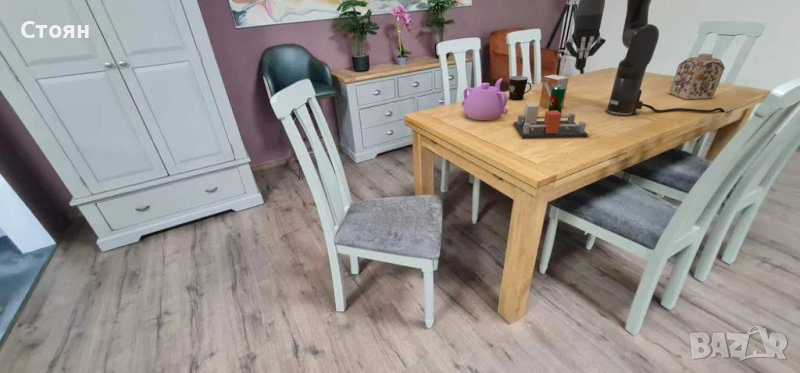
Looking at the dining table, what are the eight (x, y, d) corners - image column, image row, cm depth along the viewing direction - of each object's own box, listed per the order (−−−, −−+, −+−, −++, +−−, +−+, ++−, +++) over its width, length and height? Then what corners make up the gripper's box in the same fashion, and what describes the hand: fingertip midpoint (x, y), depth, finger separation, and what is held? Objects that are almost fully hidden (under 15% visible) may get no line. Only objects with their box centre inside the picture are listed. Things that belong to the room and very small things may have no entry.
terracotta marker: (553, 129, 122) (557, 110, 118) (557, 133, 118) (561, 114, 114) (542, 129, 122) (545, 110, 119) (546, 133, 118) (549, 114, 115)
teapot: (521, 112, 145) (525, 79, 138) (496, 126, 132) (499, 91, 125) (477, 104, 158) (479, 74, 152) (450, 116, 145) (451, 84, 138)
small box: (539, 105, 152) (543, 76, 146) (549, 103, 154) (554, 74, 148) (552, 110, 146) (557, 79, 139) (563, 107, 148) (569, 77, 141)
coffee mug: (504, 97, 167) (506, 76, 162) (521, 95, 167) (523, 75, 163) (513, 103, 157) (515, 81, 152) (530, 102, 157) (533, 80, 152)
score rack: (571, 123, 130) (573, 111, 128) (587, 137, 117) (590, 124, 115) (513, 124, 132) (515, 113, 130) (522, 138, 119) (524, 126, 117)
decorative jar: (713, 98, 147) (731, 55, 138) (686, 100, 147) (702, 57, 138) (693, 92, 157) (708, 51, 148) (667, 93, 158) (681, 52, 149)
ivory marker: (533, 120, 131) (535, 103, 127) (536, 124, 127) (539, 106, 123) (522, 120, 131) (525, 103, 128) (525, 124, 127) (527, 106, 124)
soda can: (561, 116, 138) (567, 86, 132) (548, 116, 139) (553, 86, 133) (559, 112, 142) (564, 83, 136) (546, 112, 143) (551, 83, 137)
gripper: (572, 15, 104) (563, 73, 112) (617, 11, 102) (604, 70, 111) (563, 14, 110) (555, 68, 119) (605, 10, 109) (594, 66, 117)
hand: (579, 69), depth 115 cm, fingers closed
